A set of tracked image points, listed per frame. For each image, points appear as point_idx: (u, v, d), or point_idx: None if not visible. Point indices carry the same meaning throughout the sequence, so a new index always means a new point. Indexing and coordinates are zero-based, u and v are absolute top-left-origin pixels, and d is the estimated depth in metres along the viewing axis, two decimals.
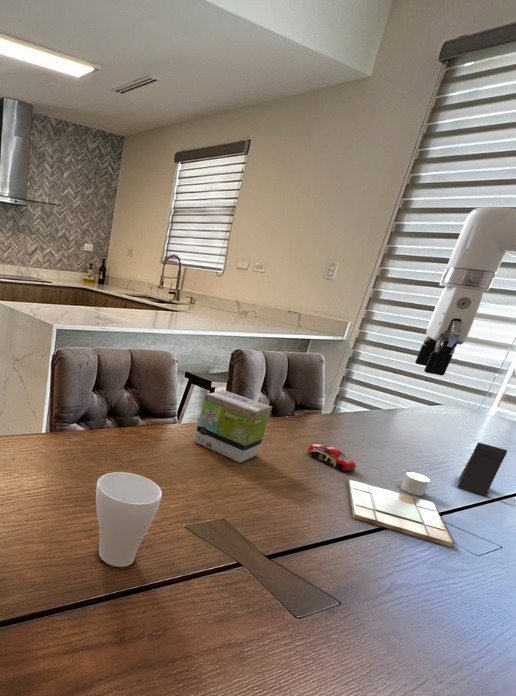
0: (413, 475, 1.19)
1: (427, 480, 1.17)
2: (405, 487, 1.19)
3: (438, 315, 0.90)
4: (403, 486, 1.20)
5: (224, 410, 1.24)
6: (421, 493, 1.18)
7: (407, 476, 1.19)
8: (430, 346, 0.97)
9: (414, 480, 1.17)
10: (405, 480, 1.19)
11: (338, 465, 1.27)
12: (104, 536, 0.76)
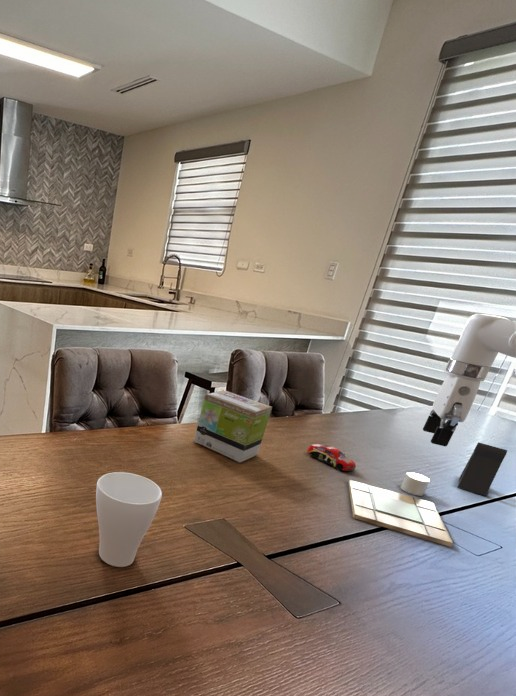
0: (413, 475, 1.19)
1: (427, 480, 1.17)
2: (405, 487, 1.19)
3: (443, 397, 1.09)
4: (403, 486, 1.20)
5: (224, 410, 1.24)
6: (421, 493, 1.18)
7: (407, 476, 1.19)
8: (436, 417, 1.17)
9: (414, 480, 1.17)
10: (405, 480, 1.19)
11: (338, 465, 1.27)
12: (104, 536, 0.76)
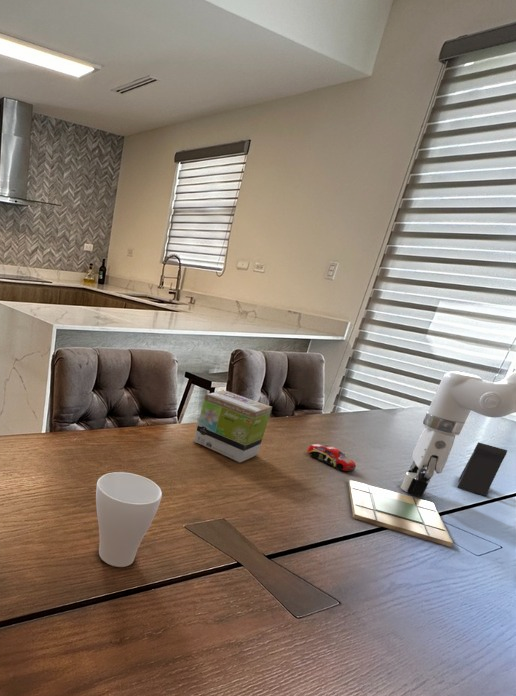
0: (413, 475, 1.19)
1: None
2: (405, 487, 1.19)
3: (421, 448, 1.15)
4: (403, 486, 1.20)
5: (224, 410, 1.24)
6: None
7: (407, 476, 1.19)
8: (415, 472, 1.21)
9: None
10: (405, 480, 1.19)
11: (338, 465, 1.27)
12: (104, 536, 0.76)
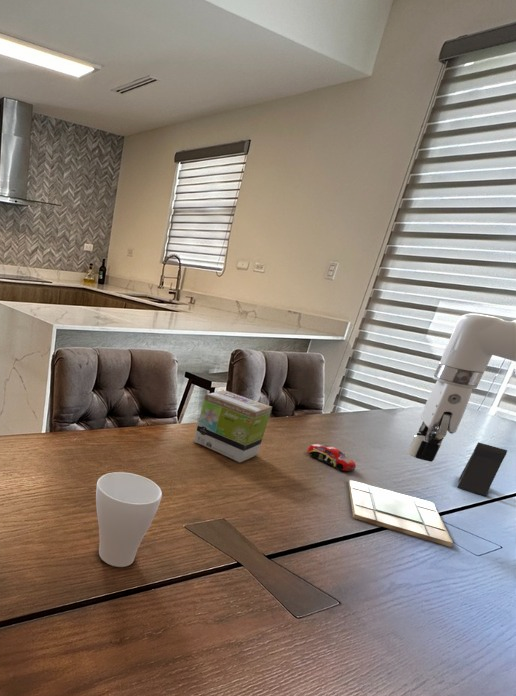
0: (421, 437, 1.04)
1: None
2: (413, 452, 1.04)
3: (431, 405, 0.99)
4: (411, 450, 1.04)
5: (224, 410, 1.24)
6: None
7: (415, 439, 1.03)
8: (425, 434, 1.05)
9: None
10: (412, 443, 1.04)
11: (338, 465, 1.27)
12: (104, 536, 0.76)
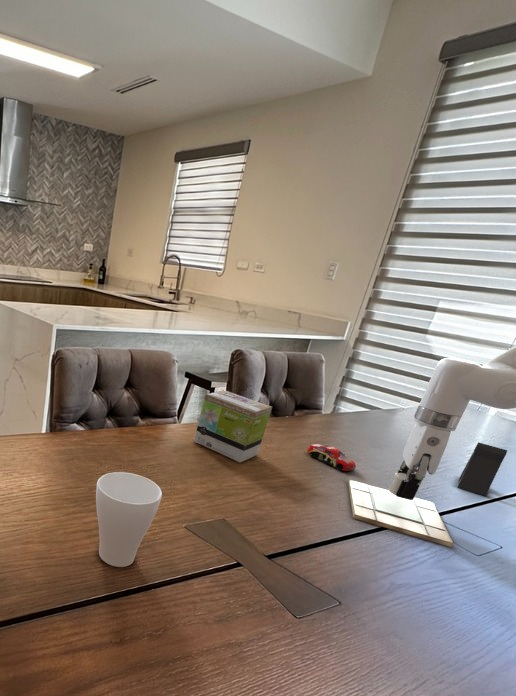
0: (402, 476, 1.05)
1: None
2: (393, 489, 1.05)
3: (411, 446, 1.01)
4: (392, 488, 1.06)
5: (224, 410, 1.24)
6: None
7: (396, 477, 1.05)
8: (406, 472, 1.07)
9: None
10: (393, 481, 1.06)
11: (338, 465, 1.27)
12: (104, 536, 0.76)
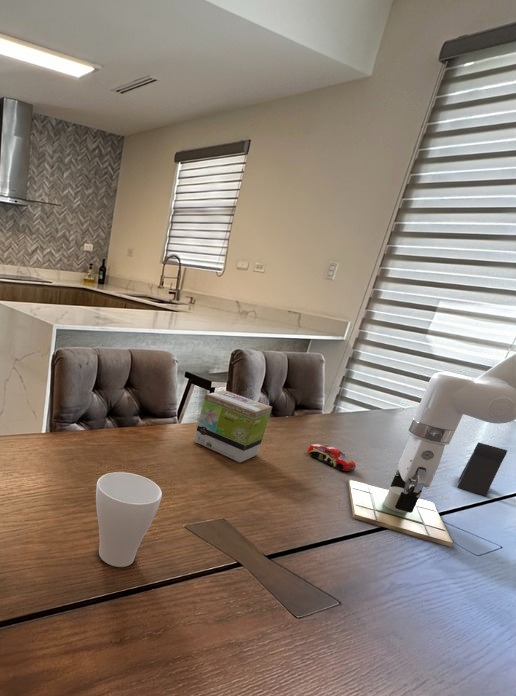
0: (396, 489, 1.07)
1: None
2: (388, 503, 1.07)
3: (406, 459, 1.02)
4: (386, 502, 1.07)
5: (224, 410, 1.24)
6: None
7: (390, 491, 1.06)
8: (402, 477, 1.09)
9: (398, 496, 1.05)
10: (387, 495, 1.07)
11: (338, 465, 1.27)
12: (104, 536, 0.76)
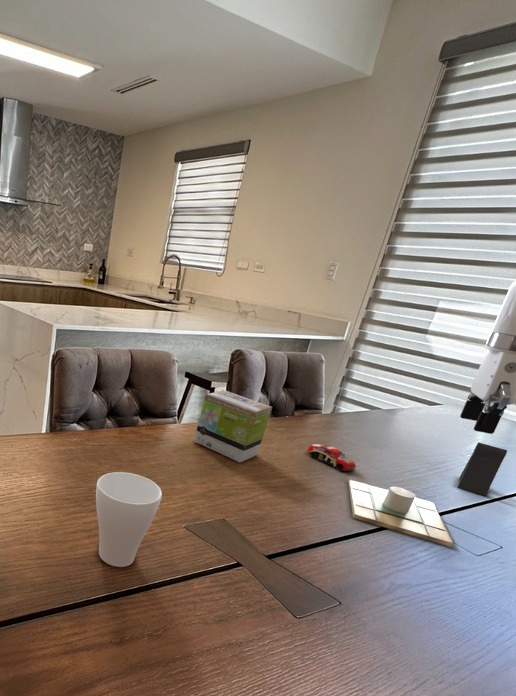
0: (396, 489, 1.07)
1: (412, 496, 1.04)
2: (388, 503, 1.07)
3: (485, 376, 0.94)
4: (386, 502, 1.07)
5: (224, 410, 1.24)
6: (405, 510, 1.05)
7: (390, 491, 1.06)
8: (475, 401, 1.02)
9: (398, 496, 1.05)
10: (387, 495, 1.07)
11: (338, 465, 1.27)
12: (104, 536, 0.76)
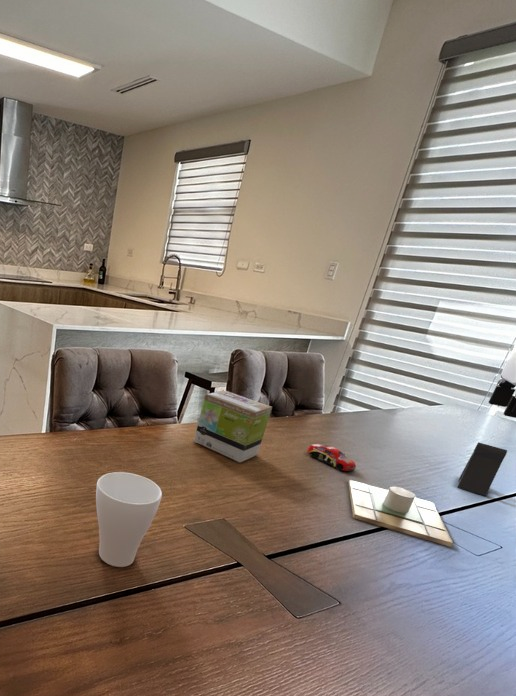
0: (396, 489, 1.07)
1: (412, 496, 1.04)
2: (388, 503, 1.07)
3: None
4: (386, 502, 1.07)
5: (224, 410, 1.24)
6: (405, 510, 1.05)
7: (390, 491, 1.06)
8: (505, 387, 1.01)
9: (398, 496, 1.05)
10: (387, 495, 1.07)
11: (338, 465, 1.27)
12: (104, 536, 0.76)
